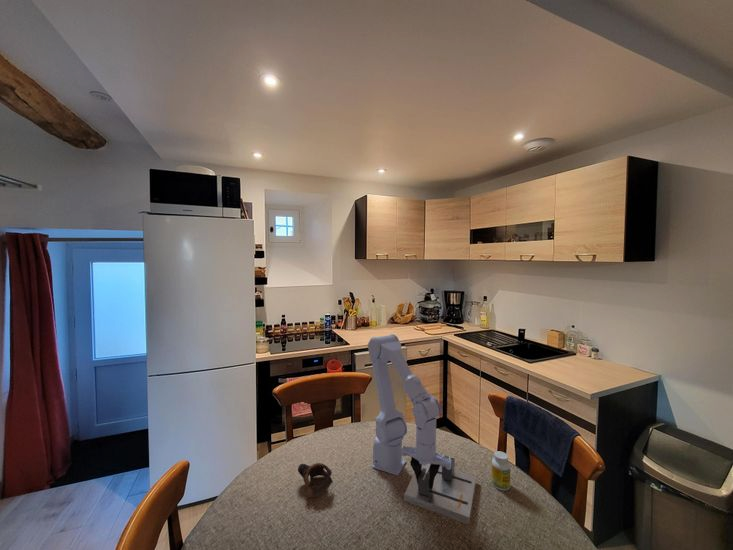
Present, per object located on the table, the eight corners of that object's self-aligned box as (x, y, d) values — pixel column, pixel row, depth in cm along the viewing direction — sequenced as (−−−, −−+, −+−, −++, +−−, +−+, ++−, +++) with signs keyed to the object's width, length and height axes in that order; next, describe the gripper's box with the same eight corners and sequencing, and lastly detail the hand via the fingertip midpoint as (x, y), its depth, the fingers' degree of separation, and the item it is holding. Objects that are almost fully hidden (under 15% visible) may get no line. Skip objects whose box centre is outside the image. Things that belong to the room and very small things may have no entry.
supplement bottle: (497, 476, 96) (498, 447, 96) (513, 486, 92) (514, 456, 92) (487, 483, 93) (488, 453, 93) (503, 494, 89) (504, 462, 89)
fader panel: (404, 500, 86) (404, 493, 86) (420, 465, 101) (420, 459, 101) (469, 524, 78) (469, 517, 78) (476, 482, 93) (476, 476, 93)
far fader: (441, 478, 92) (442, 464, 92) (445, 468, 97) (445, 455, 96) (451, 481, 91) (451, 467, 91) (454, 471, 95) (454, 458, 95)
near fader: (418, 492, 86) (418, 477, 86) (422, 481, 91) (422, 467, 91) (428, 495, 85) (428, 481, 85) (432, 484, 89) (432, 470, 89)
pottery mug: (337, 479, 95) (338, 466, 91) (322, 511, 88) (323, 499, 83) (304, 462, 98) (304, 449, 94) (288, 492, 91) (287, 479, 87)
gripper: (398, 440, 87) (397, 485, 87) (448, 454, 81) (447, 503, 81) (405, 428, 93) (405, 470, 94) (453, 440, 87) (452, 485, 87)
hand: (425, 484), depth 88 cm, fingers closed on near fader, 3 cm apart
